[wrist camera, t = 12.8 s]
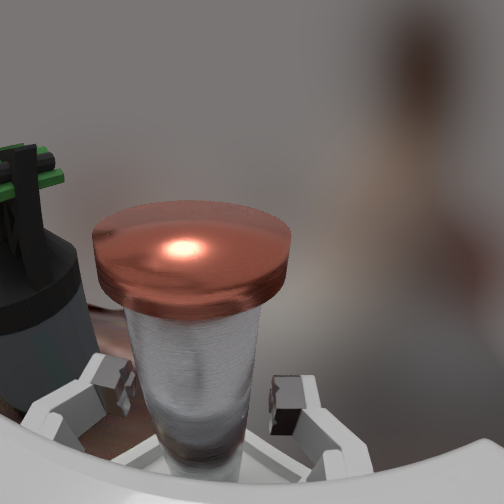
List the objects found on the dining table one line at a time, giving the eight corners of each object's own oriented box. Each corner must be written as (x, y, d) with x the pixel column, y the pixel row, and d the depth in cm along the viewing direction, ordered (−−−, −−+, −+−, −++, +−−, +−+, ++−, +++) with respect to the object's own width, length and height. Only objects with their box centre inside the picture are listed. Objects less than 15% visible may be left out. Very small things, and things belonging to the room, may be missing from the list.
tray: (212, 578, 8) (210, 578, 7) (110, 480, 13) (98, 466, 12) (310, 486, 14) (319, 474, 13) (208, 417, 20) (207, 399, 19)
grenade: (47, 329, 26) (14, 145, 18) (134, 381, 22) (102, 132, 14) (-17, 378, 17) (-83, 173, 9) (61, 462, 13) (-68, 167, 5)
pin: (209, 533, 10) (164, 301, 4) (157, 486, 13) (68, 221, 6) (259, 490, 14) (327, 231, 7) (207, 451, 16) (202, 194, 10)
